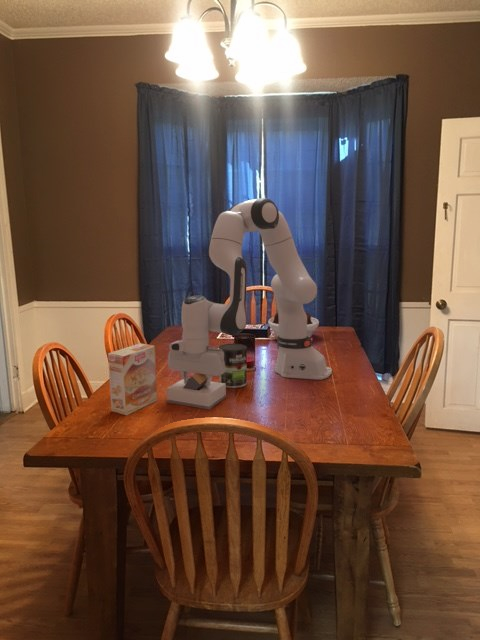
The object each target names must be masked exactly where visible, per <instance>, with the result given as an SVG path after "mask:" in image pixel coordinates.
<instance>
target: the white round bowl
mask: <svg viewBox="0 0 480 640" xmlns="http://www.w3.org/2000/svg"><path fill="white" fill-rule="evenodd" d="M305 313H306V315H307V336H308V337H309V338H310V339H311V338H312V336H313V333H314V332H315V330H316V329H318V326H319V323H320V321H319V319H317V318H316V317H313V316H311V313H310V312H305ZM267 324H268V326H269V328H270V329H271V330H272V331H273V334H274V336H275V337H276V338H277V339H278V335H279V317H278V312H277V313H275V315H274V317H271V318H269V319H268V321H267Z"/></svg>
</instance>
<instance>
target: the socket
mask: <svg viewBox="0 0 480 640" xmlns="http://www.w3.org/2000/svg"><path fill="white" fill-rule="evenodd" d="M185 385H186V384H184V379H183V378H182V379H180V380H179V381H177V382H175V383H173V384H172V385H170V386H168V387H166V400H167V401H166V403H167V404H169V403H170V404H174V405H175V404H176V405H181V406H185V407H186V406H187V407H192V408H198V409H203V410H211V409H212V408H213V407H215V406H216V405H217V404H219V403H220V402H221V401H223V400H224V399H225V398H226V397H227V394H226V393H227V387H226V383H220V381H219V382H218V381H212V380H211V381H210V386H209V387H203V388H202V389H200V390H199V391H198V390H192V389H186V388H183V387H184V386H185Z"/></svg>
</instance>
